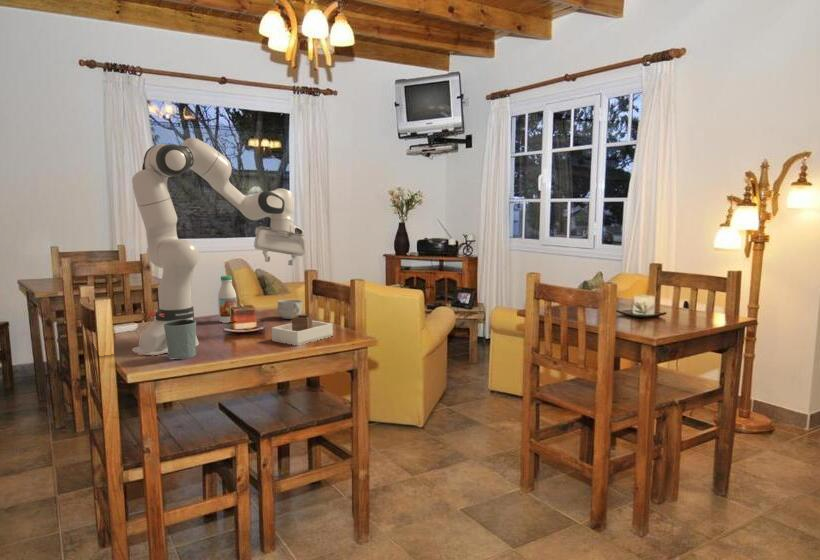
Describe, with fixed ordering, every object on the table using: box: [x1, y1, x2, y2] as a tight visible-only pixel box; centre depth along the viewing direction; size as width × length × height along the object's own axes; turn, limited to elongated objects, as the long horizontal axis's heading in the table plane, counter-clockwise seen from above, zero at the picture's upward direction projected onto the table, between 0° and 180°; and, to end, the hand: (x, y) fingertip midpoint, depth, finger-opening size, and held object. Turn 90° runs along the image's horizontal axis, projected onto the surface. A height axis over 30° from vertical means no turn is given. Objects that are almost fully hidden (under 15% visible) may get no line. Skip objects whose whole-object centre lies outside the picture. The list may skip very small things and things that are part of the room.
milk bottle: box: [217, 275, 238, 324], centre depth 259 cm, size 8×8×20 cm
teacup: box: [277, 299, 303, 320], centre depth 265 cm, size 14×11×8 cm
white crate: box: [271, 320, 334, 347], centre depth 226 cm, size 18×14×5 cm
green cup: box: [164, 319, 197, 359], centre depth 201 cm, size 10×10×12 cm
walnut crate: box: [291, 314, 313, 331], centre depth 226 cm, size 6×6×8 cm
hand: (279, 263), depth 233 cm, fingers open, 8 cm apart
